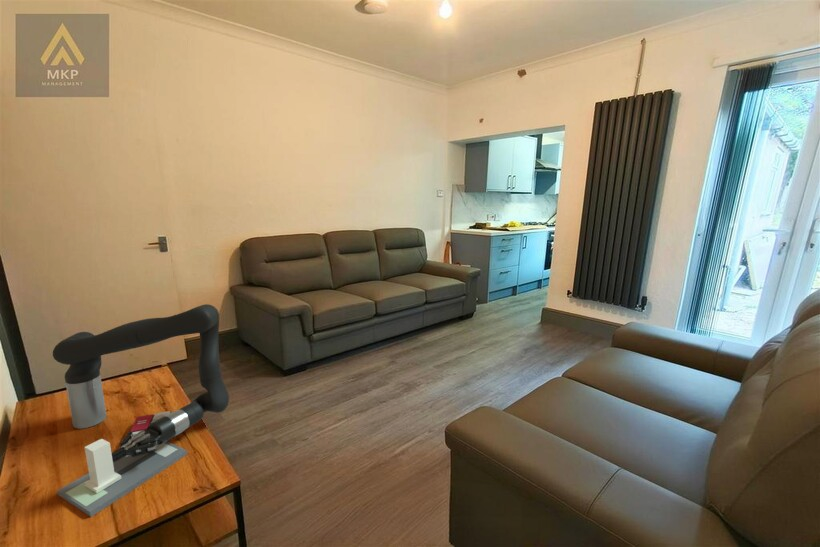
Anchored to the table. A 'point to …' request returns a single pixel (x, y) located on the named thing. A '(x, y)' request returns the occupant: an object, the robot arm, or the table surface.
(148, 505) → the table surface
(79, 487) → the switch panel
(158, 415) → the calculator
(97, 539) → the table surface
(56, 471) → the table surface
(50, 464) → the table surface
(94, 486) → the switch slider
